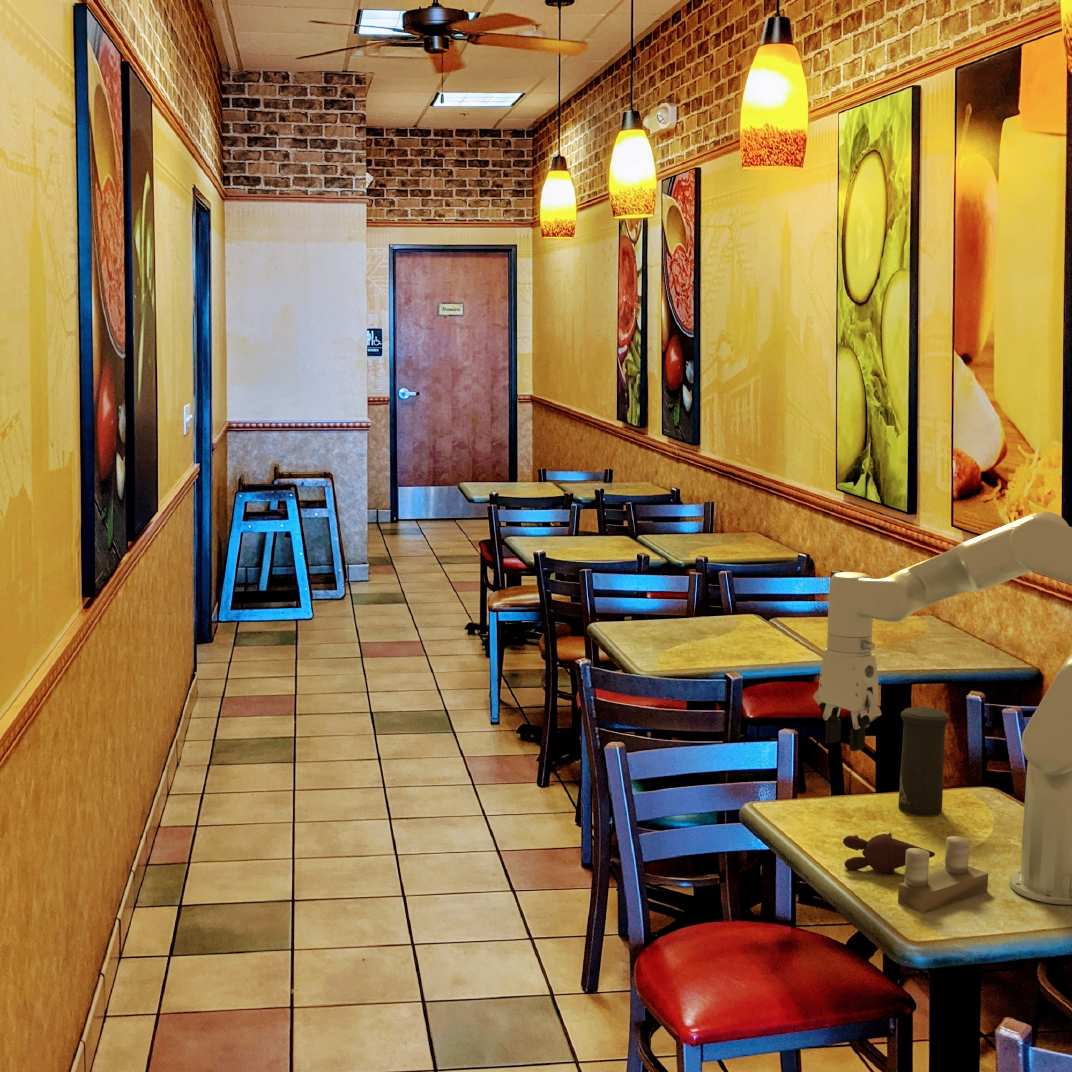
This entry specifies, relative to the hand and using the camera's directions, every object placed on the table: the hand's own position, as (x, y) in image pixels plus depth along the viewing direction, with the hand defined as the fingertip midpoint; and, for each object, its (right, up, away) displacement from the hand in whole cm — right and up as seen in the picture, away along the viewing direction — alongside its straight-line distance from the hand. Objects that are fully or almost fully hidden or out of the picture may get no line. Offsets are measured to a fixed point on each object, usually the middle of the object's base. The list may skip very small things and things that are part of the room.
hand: (844, 744), depth 228 cm
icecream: (+6, -21, -7) cm, 23 cm away
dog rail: (+12, -22, -17) cm, 30 cm away
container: (+21, -17, +25) cm, 37 cm away
